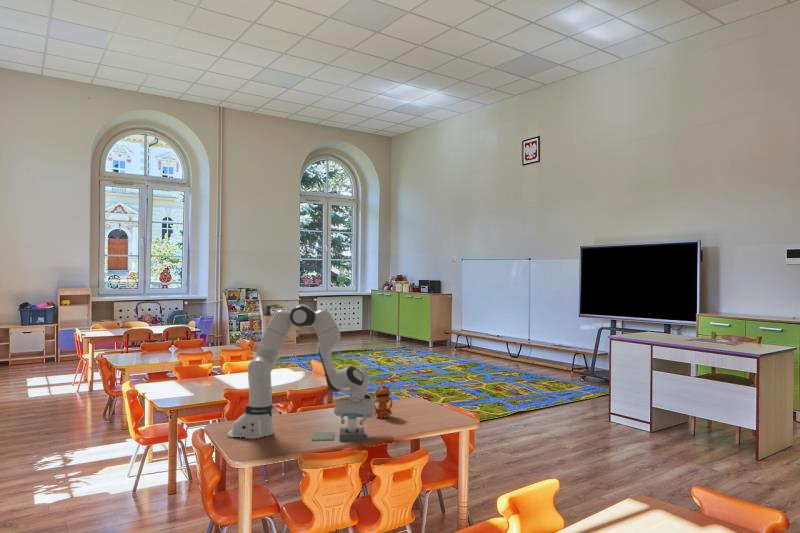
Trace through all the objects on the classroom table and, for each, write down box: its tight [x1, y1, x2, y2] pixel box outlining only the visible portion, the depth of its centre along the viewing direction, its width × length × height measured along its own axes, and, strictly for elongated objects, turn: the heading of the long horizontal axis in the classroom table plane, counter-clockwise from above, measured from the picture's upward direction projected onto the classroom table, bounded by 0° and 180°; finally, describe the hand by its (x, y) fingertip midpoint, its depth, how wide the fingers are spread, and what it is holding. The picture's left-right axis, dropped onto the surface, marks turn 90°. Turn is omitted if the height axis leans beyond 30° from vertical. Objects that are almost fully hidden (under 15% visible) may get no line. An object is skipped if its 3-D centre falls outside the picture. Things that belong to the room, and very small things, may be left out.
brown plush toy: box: [374, 385, 393, 418], centre depth 311 cm, size 11×11×18 cm
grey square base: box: [338, 426, 366, 442], centre depth 267 cm, size 12×12×4 cm
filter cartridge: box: [347, 413, 358, 433], centre depth 267 cm, size 4×4×11 cm
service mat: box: [311, 431, 335, 442], centre depth 266 cm, size 10×12×2 cm
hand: (351, 423), depth 266 cm, fingers open, 8 cm apart
